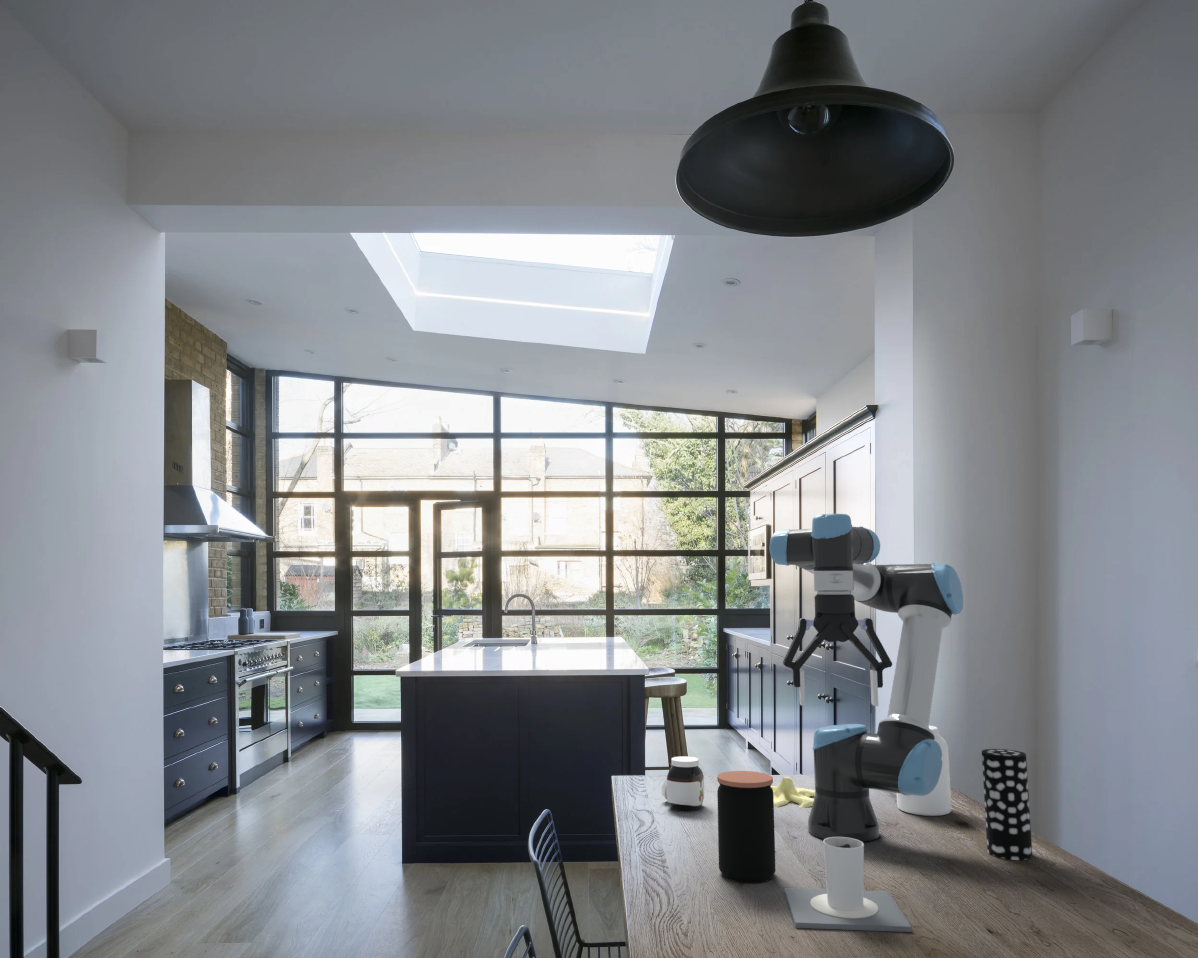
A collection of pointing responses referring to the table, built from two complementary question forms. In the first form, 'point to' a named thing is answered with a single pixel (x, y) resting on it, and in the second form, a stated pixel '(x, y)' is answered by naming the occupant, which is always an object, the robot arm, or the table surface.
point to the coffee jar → (746, 826)
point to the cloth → (792, 794)
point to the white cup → (844, 872)
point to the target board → (845, 912)
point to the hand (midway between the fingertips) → (838, 705)
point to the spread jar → (684, 784)
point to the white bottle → (940, 796)
